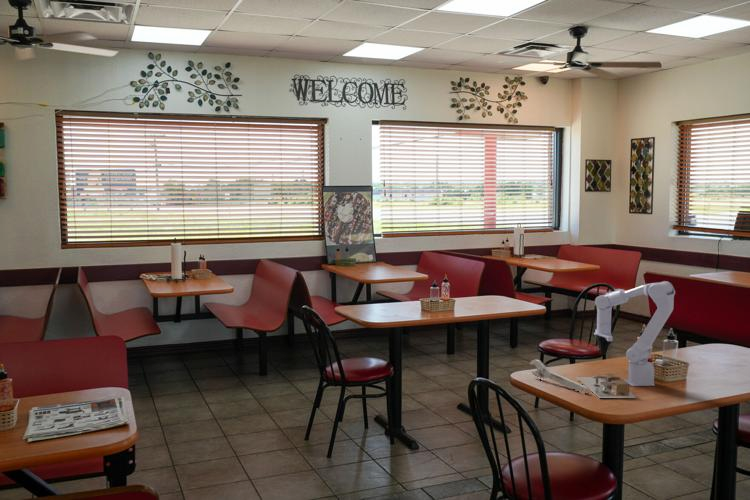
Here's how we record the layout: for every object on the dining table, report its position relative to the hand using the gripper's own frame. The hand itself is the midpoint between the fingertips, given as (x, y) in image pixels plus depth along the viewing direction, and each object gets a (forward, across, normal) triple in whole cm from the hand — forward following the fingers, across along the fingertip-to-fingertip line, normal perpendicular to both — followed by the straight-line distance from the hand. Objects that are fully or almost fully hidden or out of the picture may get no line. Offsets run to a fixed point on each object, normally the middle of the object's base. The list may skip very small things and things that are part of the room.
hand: (603, 354), depth 287 cm
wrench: (+10, +13, -23) cm, 28 cm away
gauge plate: (+9, +18, -6) cm, 21 cm away
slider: (+8, +17, -6) cm, 20 cm away
